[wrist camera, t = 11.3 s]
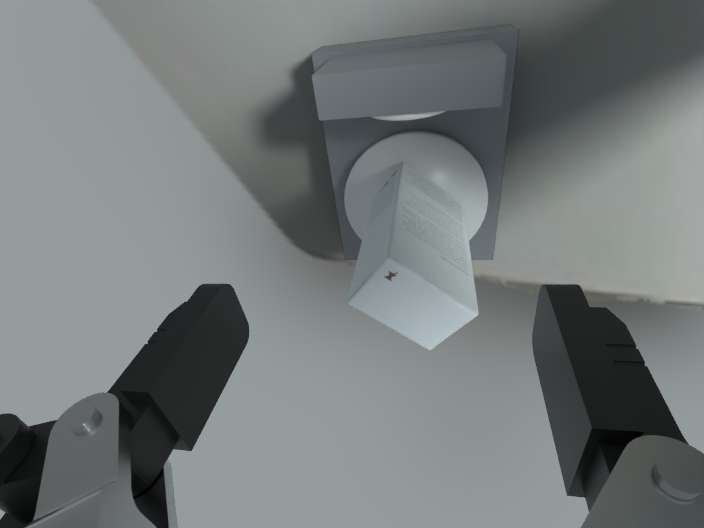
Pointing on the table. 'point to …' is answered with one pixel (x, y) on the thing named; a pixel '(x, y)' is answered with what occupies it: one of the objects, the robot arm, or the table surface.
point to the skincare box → (415, 261)
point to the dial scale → (418, 121)
